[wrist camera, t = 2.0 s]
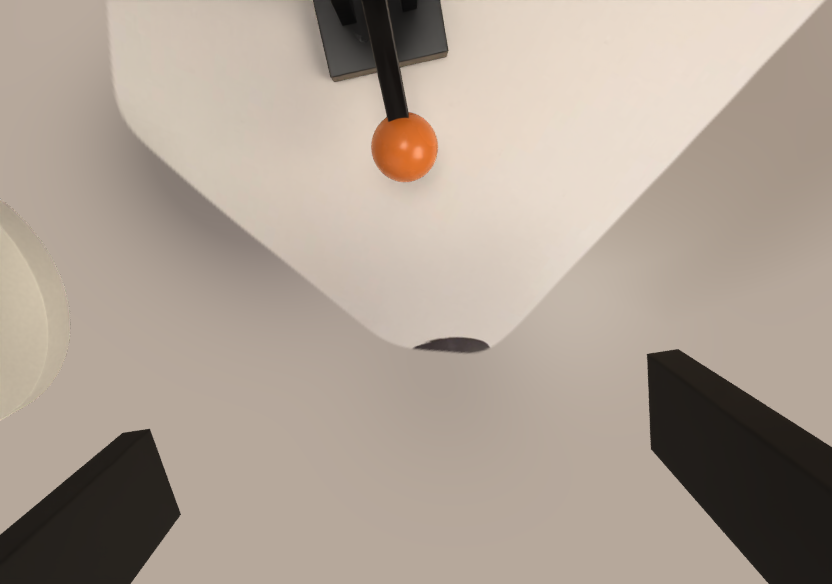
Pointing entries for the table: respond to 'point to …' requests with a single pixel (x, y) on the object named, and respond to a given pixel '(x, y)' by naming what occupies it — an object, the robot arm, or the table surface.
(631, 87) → the table surface
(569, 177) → the table surface
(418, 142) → the switch
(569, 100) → the table surface
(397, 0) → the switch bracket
